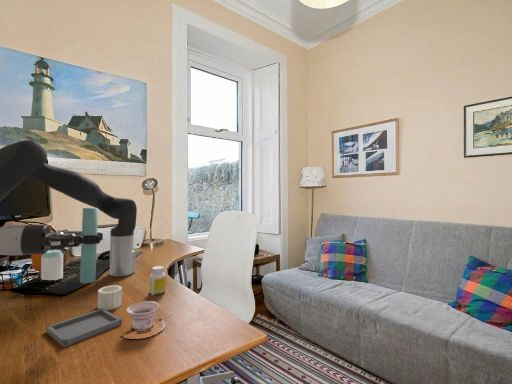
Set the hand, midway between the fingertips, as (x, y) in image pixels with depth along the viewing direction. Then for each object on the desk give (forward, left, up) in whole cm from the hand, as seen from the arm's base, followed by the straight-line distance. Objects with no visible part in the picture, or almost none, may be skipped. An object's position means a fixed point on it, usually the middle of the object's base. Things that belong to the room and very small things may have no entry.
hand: (101, 238), depth 77 cm
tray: (+4, 0, -24) cm, 25 cm away
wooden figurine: (-13, -69, -25) cm, 74 cm away
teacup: (-6, +11, -25) cm, 28 cm away
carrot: (-5, -67, -25) cm, 71 cm away
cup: (-7, -9, -24) cm, 27 cm away
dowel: (+3, -2, -12) cm, 12 cm away
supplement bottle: (-23, -7, -25) cm, 35 cm away
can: (-5, -51, -25) cm, 57 cm away
